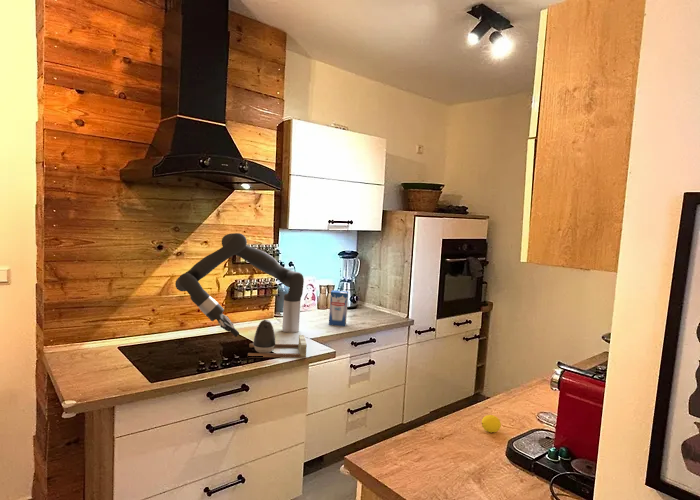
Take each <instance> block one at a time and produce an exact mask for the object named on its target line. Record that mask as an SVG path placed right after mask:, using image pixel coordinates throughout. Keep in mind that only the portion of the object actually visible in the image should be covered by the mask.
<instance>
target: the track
mask: <svg viewBox="0 0 700 500" xmlns="http://www.w3.org/2000/svg"><path fill="white" fill-rule="evenodd" d="M248 348H254V345H253V343H249V347H248ZM274 348H275V349H276V348H277V349H278V348H279V349H280V348H281V349H282V348H283V349H285V348H286V349H289V348H290V349H291V348H292V349H298V352H299V353H297V352H296V353H294V352H293V353H291V352H290V353H288V352H287V353H286V352H285V353H284V352H282V353H281V352H275V353H274V352H272V353H271V352H269V353H259V352H248V353H247V357H248V356H263V357H262V358H302V359H303V358H307V341H306V337H305V335H304V334H302V335H301V334H300V335H298V343H275V346H274Z"/></svg>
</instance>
